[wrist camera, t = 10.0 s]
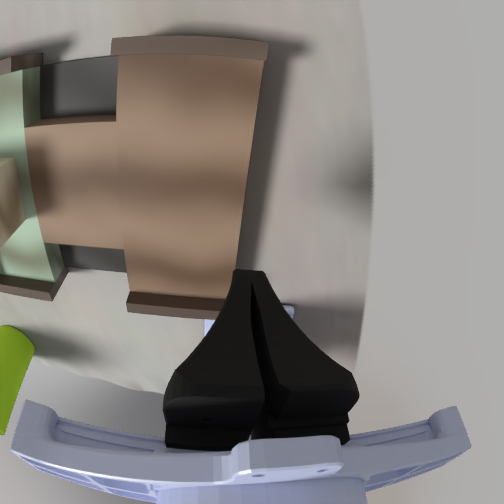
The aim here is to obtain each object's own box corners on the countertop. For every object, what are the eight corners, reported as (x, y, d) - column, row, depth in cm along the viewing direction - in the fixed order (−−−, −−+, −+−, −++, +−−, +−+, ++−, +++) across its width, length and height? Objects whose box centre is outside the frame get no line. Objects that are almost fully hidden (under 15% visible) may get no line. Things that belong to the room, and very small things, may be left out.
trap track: (230, 287, 26) (230, 327, 23) (6, 264, 24) (-15, 294, 20) (262, 45, 16) (270, 41, 12) (-28, 73, 13) (-65, 84, 9)
